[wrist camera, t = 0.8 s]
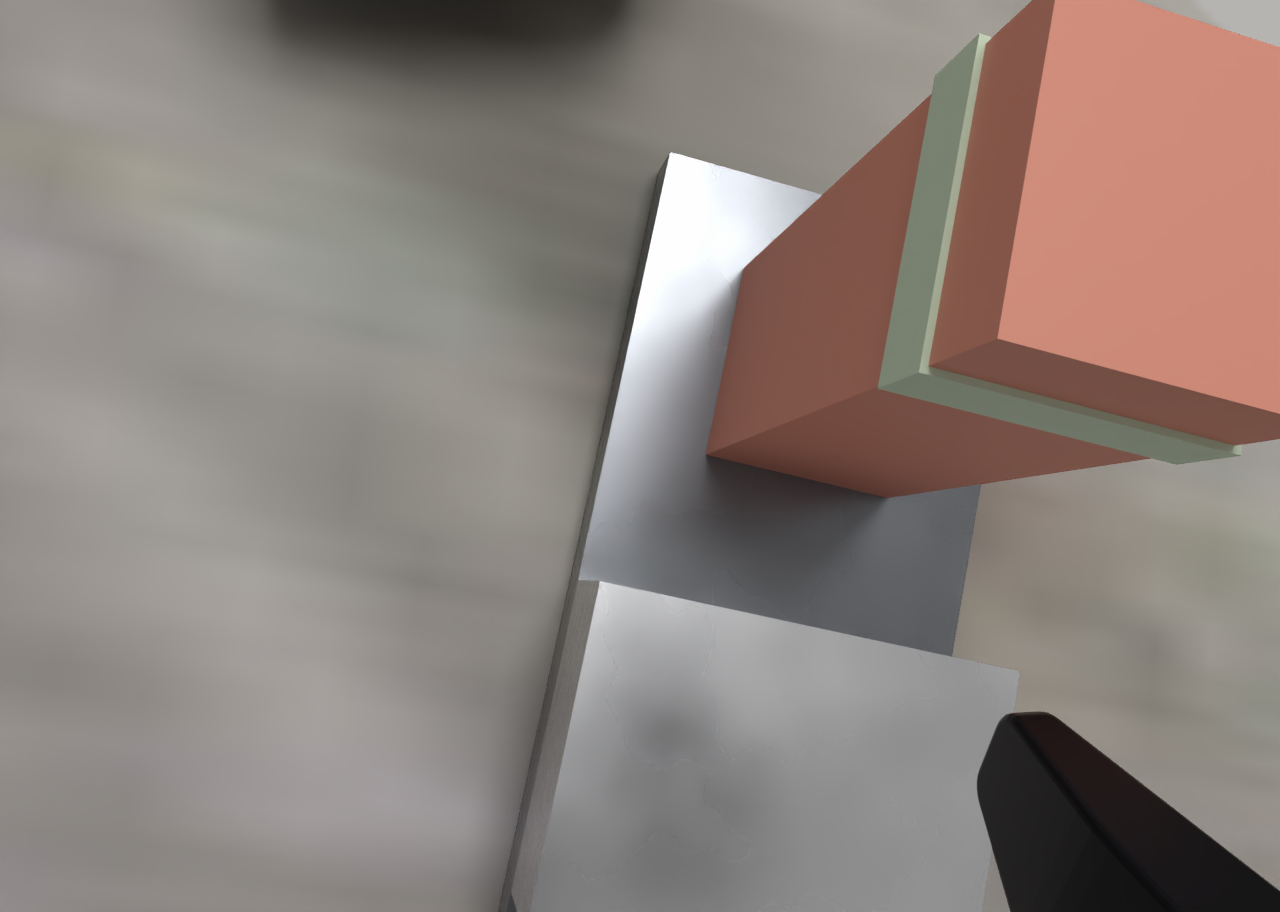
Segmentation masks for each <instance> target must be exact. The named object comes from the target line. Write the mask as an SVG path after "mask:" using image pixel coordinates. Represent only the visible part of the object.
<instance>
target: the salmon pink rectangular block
mask: <svg viewBox="0 0 1280 912" xmlns="http://www.w3.org/2000/svg"><path fill="white" fill-rule="evenodd" d="M1275 439H1280V48H1279V47H1277V46H1274V45H1271V44H1267V43H1264V42H1261V41H1258V40H1255V39H1252V38H1249V37H1246V36H1243V35H1240V34H1237V33H1234V32H1231V31H1227V30H1225V29H1221V28H1218V27H1215V26H1212V25H1209V24H1206V23H1203V22H1200V21H1197V20H1194V19H1191V18H1188V17H1185V16H1182V15H1179V14H1175V13H1172V12H1169V11H1166V10H1163V9H1160V8H1157V7H1154V6H1151V5H1148V4H1145V3H1142V2H1139V1H1136V0H1032V1H1031V2H1030V3H1029V4H1028V5H1027V6H1026V7H1025V8H1024V9H1023V10H1021V11H1020V12H1019V13H1018V14H1017V15H1016V16H1015V17H1014V18H1013V19H1012V20H1011V21H1010V22H1009V23H1007V24H1006V25H1005V26H1004V27H1003V28H1002V29H1001V30H1000V31H999V32H998V33H997V34H996V35H994V36H993V37H989V36H986V35H983V34H978V35H977V36H976V37H975V38H974V39H973V40H972V41H971V42H970V43H969V44H968V45H967V46H966V47H965V48H964V49H963V50H962V51H961V52H960V53H959V54H957V55H956V56H955V57H954V58H953V59H952V60H951V61H950V62H949V63H948V64H947V65H946V66H945V67H944V68H943V69H942V70H941V71H940V72H939V73H938V74H937V75H935V79H934V84H933V90H932V94H931V95H930V96H929V97H928V98H927V99H925V100H924V101H923V102H922V103H921V104H920V105H919V106H918V107H917V108H916V109H915V110H914V111H913V112H911V113H910V114H909V115H908V116H907V117H906V118H905V119H904V120H903V121H902V122H901V123H900V124H898V125H897V126H896V127H895V128H894V129H893V130H892V131H891V132H890V133H889V134H888V135H887V136H886V137H884V138H883V139H882V140H881V141H880V142H879V143H878V144H877V145H876V146H875V147H874V148H873V149H872V150H870V151H869V152H868V153H867V154H866V155H865V156H864V157H863V158H862V159H861V160H860V161H859V162H857V163H856V164H855V165H854V166H853V167H852V168H851V169H850V170H849V171H848V172H847V173H846V174H845V175H843V176H842V177H841V178H840V179H839V180H838V181H837V182H836V183H835V184H834V185H833V186H832V187H831V188H829V189H828V190H827V191H826V192H825V193H824V194H823V195H822V196H821V197H820V198H819V199H818V200H816V201H815V202H814V203H813V204H812V205H811V206H810V207H809V208H808V209H807V210H806V211H805V212H804V213H802V214H801V215H800V216H799V217H798V218H797V219H796V220H795V221H794V222H793V223H792V224H791V225H790V226H788V227H787V228H786V229H785V230H784V231H783V232H782V233H781V234H780V235H779V236H778V237H777V238H775V239H774V240H773V241H772V242H771V243H770V244H769V245H768V246H767V247H766V248H765V249H764V250H763V251H761V252H760V253H759V254H758V255H757V256H756V257H755V258H754V259H753V260H752V261H751V262H750V263H749V264H747V265H746V266H745V267H744V269H743V274H742V278H741V283H740V288H739V293H738V298H737V303H736V308H735V313H734V318H733V323H732V328H731V333H730V338H729V342H728V347H727V352H726V357H725V362H724V367H723V372H722V377H721V382H720V387H719V392H718V397H717V402H716V406H715V411H714V416H713V421H712V426H711V431H710V436H709V441H708V446H707V451H706V455H709V456H713V457H717V458H721V459H725V460H730V461H734V462H738V463H742V464H747V465H751V466H755V467H759V468H763V469H768V470H772V471H776V472H780V473H784V474H789V475H793V476H797V477H801V478H806V479H810V480H814V481H818V482H822V483H827V484H831V485H835V486H839V487H843V488H848V489H852V490H856V491H860V492H865V493H869V494H873V495H877V496H881V497H886V498H892V497H899V496H905V495H912V494H918V493H925V492H932V491H938V490H945V489H952V488H958V487H965V486H971V485H978V484H985V483H991V482H998V481H1004V480H1011V479H1018V478H1024V477H1031V476H1037V475H1044V474H1051V473H1057V472H1064V471H1071V470H1077V469H1084V468H1090V467H1097V466H1104V465H1110V464H1117V463H1123V462H1130V461H1137V460H1143V459H1150V458H1153V459H1157V460H1161V461H1165V462H1169V463H1173V464H1184V463H1191V462H1198V461H1206V460H1213V459H1220V458H1227V457H1235V456H1241V454H1242V446H1243V444H1249V443H1256V442H1262V441H1269V440H1275Z"/></svg>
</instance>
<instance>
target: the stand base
mask: <svg viewBox="0 0 1280 912" xmlns="http://www.w3.org/2000/svg"><path fill="white" fill-rule="evenodd" d="M821 196H822V195H821V194H818V193H814V192H811V191H807V190H804V189H800V188H797V187H793V186H789V185H786V184H782V183H779V182H775V181H772V180H768V179H765V178H761V177H757V176H754V175H750V174H747V173H743V172H740V171H736V170H732V169H729V168H725V167H722V166H718V165H715V164H711V163H708V162H704V161H700V160H697V159H693V158H690V157H686V156H683V155H679V154H676V153H672V152H670V153H669V155H668V157H667V158H666V160H665V162H664V163H663V165H662V167H661V168H660V170H659V172H658V176H657V181H656V185H655V190H654V194H653V199H652V204H651V208H650V213H649V217H648V222H647V227H646V231H645V236H644V241H643V245H642V250H641V254H640V259H639V264H638V268H637V273H636V278H635V282H634V287H633V291H632V296H631V301H630V305H629V310H628V315H627V319H626V324H625V328H624V333H623V338H622V342H621V347H620V352H619V356H618V361H617V365H616V370H615V375H614V379H613V384H612V388H611V393H610V398H609V402H608V407H607V412H606V416H605V421H604V425H603V430H602V435H601V439H600V444H599V449H598V453H597V458H596V462H595V467H594V472H593V476H592V481H591V486H590V490H589V495H588V499H587V504H586V509H585V513H584V518H583V523H582V527H581V532H580V536H579V541H578V546H577V550H576V555H575V559H574V564H573V569H572V573H571V578H570V583H569V587H568V592H567V596H566V601H565V606H564V610H563V615H562V620H561V624H560V629H559V633H558V638H557V643H556V647H555V652H554V657H553V661H552V666H551V670H550V675H549V680H548V684H547V689H546V694H545V698H544V703H543V707H542V712H541V717H540V721H539V726H538V730H537V735H536V740H535V744H534V749H533V754H532V758H531V763H530V767H529V772H528V777H527V781H526V786H525V791H524V795H523V800H522V804H521V809H520V814H519V818H518V823H517V828H516V832H515V837H514V841H513V846H512V851H511V855H510V860H509V865H508V869H507V874H506V878H505V883H504V888H503V892H502V897H501V901H500V906H499V911H498V912H982V907H983V900H984V894H985V888H986V882H987V875H988V869H989V863H990V857H991V851H992V846H991V843H990V839H989V836H988V832H987V829H986V825H985V822H984V818H983V815H982V811H981V808H980V805H979V800H978V795H977V776H978V772H979V769H980V766H981V764H982V761H983V759H984V756H985V754H986V751H987V749H988V746H989V744H990V741H991V739H992V736H993V734H994V731H995V728H996V726H997V724H998V722H999V720H1000V719H1001V718H1002V717H1004V716H1005V715H1006V714H1010V713H1014V707H1015V701H1016V695H1017V689H1018V683H1019V676H1020V671H1016V670H1011V669H1006V668H1002V667H997V666H992V665H988V664H983V663H978V662H974V661H969V660H964V659H960V658H955V657H952V652H953V646H954V640H955V634H956V628H957V623H958V617H959V611H960V605H961V599H962V593H963V587H964V581H965V575H966V569H967V563H968V557H969V552H970V546H971V540H972V534H973V528H974V522H975V516H976V510H977V504H978V498H979V492H980V487H981V484H978V485H971V486H965V487H958V488H952V489H945V490H938V491H932V492H925V493H918V494H912V495H905V496H899V497H892V498H886V497H881V496H877V495H873V494H869V493H865V492H860V491H856V490H852V489H848V488H843V487H839V486H835V485H831V484H827V483H822V482H818V481H814V480H810V479H806V478H801V477H797V476H793V475H789V474H784V473H780V472H776V471H772V470H768V469H763V468H759V467H755V466H751V465H747V464H742V463H738V462H734V461H730V460H725V459H721V458H717V457H713V456H709V455H706V451H707V446H708V441H709V436H710V431H711V426H712V421H713V416H714V411H715V406H716V402H717V397H718V392H719V387H720V382H721V377H722V372H723V367H724V362H725V357H726V352H727V347H728V342H729V338H730V333H731V328H732V323H733V318H734V313H735V308H736V303H737V298H738V293H739V288H740V283H741V278H742V274H743V269H744V267H745V266H746V265H747V264H749V263H750V262H751V261H752V260H753V259H754V258H755V257H756V256H757V255H758V254H759V253H760V252H761V251H763V250H764V249H765V248H766V247H767V246H768V245H769V244H770V243H771V242H772V241H773V240H774V239H775V238H777V237H778V236H779V235H780V234H781V233H782V232H783V231H784V230H785V229H786V228H787V227H788V226H790V225H791V224H792V223H793V222H794V221H795V220H796V219H797V218H798V217H799V216H800V215H801V214H802V213H804V212H805V211H806V210H807V209H808V208H809V207H810V206H811V205H812V204H813V203H814V202H815V201H816V200H818V199H819V198H820V197H821Z"/></svg>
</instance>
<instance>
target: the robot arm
mask: <svg viewBox="0 0 1280 912" xmlns="http://www.w3.org/2000/svg"><path fill="white" fill-rule="evenodd" d="M977 795H978V800H979V805H980V808H981V811H982V815H983V818H984V822H985V825H986V829H987V832H988V836H989V839H990V843H991V846H992V850H993V853H994V856H995V860H996V863H997V867H998V870H999V874H1000V877H1001V881H1002V884H1003V888H1004V891H1005V894H1006V898H1007V901H1008V905H1009V908H1010V912H1280V891H1279V890H1278V889H1277V888H1275V887H1274V886H1273V885H1272V884H1270V883H1269V882H1268V881H1266V880H1265V879H1264V878H1263V877H1261V876H1260V875H1259V874H1257V873H1256V872H1255V871H1254V870H1252V869H1251V868H1250V867H1248V866H1247V865H1246V864H1245V863H1243V862H1242V861H1241V860H1239V859H1238V858H1237V857H1236V856H1234V855H1233V854H1232V853H1230V852H1229V851H1228V850H1227V849H1225V848H1224V847H1223V846H1221V845H1220V844H1219V843H1218V842H1216V841H1215V840H1214V839H1212V838H1211V837H1210V836H1209V835H1207V834H1206V833H1205V832H1203V831H1202V830H1201V829H1200V828H1198V827H1197V826H1196V825H1194V824H1193V823H1192V822H1191V821H1189V820H1188V819H1187V818H1185V817H1184V816H1183V815H1182V814H1180V813H1179V812H1178V811H1176V810H1175V809H1174V808H1173V807H1171V806H1170V805H1169V804H1167V803H1166V802H1165V801H1164V800H1162V799H1161V798H1160V797H1158V796H1157V795H1156V794H1155V793H1153V792H1152V791H1151V790H1149V789H1148V788H1147V787H1146V786H1144V785H1143V784H1142V783H1140V782H1139V781H1138V780H1137V779H1135V778H1134V777H1133V776H1131V775H1130V774H1129V773H1128V772H1126V771H1125V770H1124V769H1122V768H1121V767H1120V766H1119V765H1117V764H1116V763H1115V762H1113V761H1112V760H1111V759H1110V758H1108V757H1107V756H1106V755H1104V754H1103V753H1102V752H1101V751H1099V750H1098V749H1097V748H1095V747H1094V746H1093V745H1092V744H1090V743H1089V742H1088V741H1086V740H1085V739H1084V738H1083V737H1081V736H1080V735H1079V734H1077V733H1076V732H1075V731H1074V730H1072V729H1071V728H1070V727H1068V726H1067V725H1066V724H1065V723H1063V722H1062V721H1061V720H1059V719H1058V718H1057V717H1055V716H1053V715H1051V714H1049V713H1046V712H1022V713H1010V714H1006V715H1005V716H1004V717H1002V718H1001V719H1000V720H999V722H998V724H997V726H996V728H995V731H994V734H993V736H992V739H991V741H990V744H989V746H988V749H987V751H986V754H985V756H984V759H983V761H982V764H981V766H980V769H979V772H978V776H977Z"/></svg>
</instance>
